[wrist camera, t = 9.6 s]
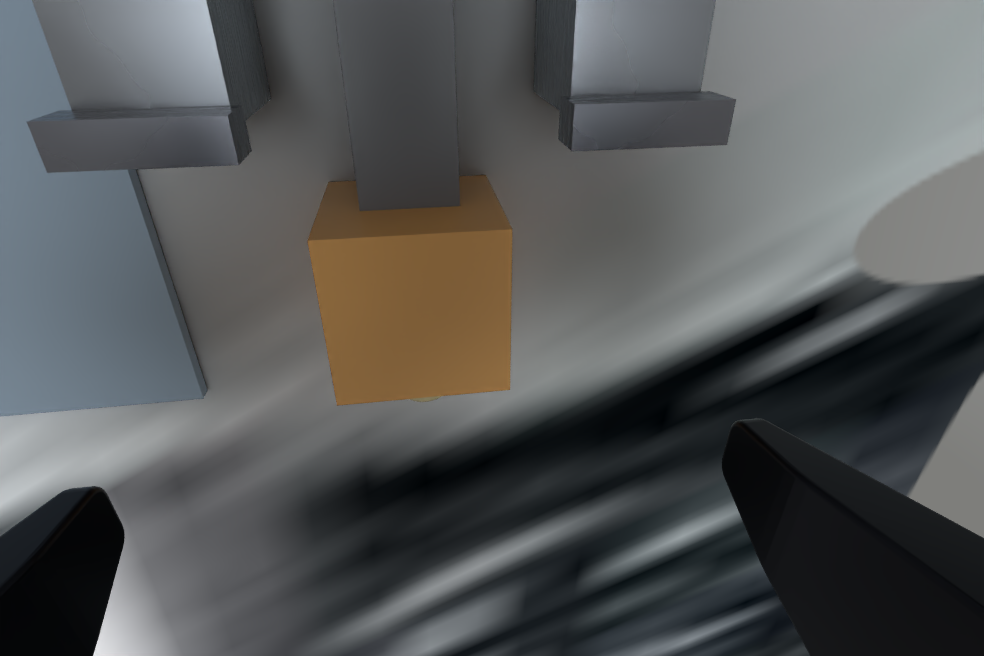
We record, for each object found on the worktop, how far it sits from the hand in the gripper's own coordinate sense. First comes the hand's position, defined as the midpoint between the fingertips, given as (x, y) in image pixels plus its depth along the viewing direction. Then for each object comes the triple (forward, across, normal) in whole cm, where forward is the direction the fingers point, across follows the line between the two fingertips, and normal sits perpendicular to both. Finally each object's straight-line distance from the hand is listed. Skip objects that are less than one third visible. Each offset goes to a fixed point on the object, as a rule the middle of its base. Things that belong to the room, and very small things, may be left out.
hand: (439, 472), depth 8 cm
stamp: (+9, 0, -3) cm, 9 cm away
